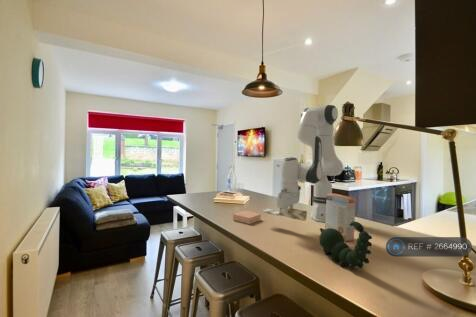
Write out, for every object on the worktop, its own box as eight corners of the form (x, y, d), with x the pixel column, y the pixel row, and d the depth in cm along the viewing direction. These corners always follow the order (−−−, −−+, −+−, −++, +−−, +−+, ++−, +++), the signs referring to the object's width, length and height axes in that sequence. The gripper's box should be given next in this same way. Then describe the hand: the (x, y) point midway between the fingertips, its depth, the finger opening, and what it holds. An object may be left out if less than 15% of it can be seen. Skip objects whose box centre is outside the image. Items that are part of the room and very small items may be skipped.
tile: (260, 214, 148) (244, 210, 155) (249, 218, 138) (233, 214, 145) (260, 220, 148) (244, 216, 155) (249, 224, 138) (232, 220, 145)
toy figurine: (373, 278, 86) (326, 245, 109) (380, 227, 84) (331, 204, 107) (352, 282, 83) (309, 247, 106) (359, 229, 80) (313, 205, 104)
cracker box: (354, 240, 118) (356, 198, 117) (344, 242, 115) (347, 198, 115) (333, 231, 131) (335, 192, 130) (324, 232, 128) (326, 193, 128)
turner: (307, 219, 127) (307, 210, 126) (302, 221, 122) (303, 212, 122) (267, 210, 141) (268, 202, 141) (262, 212, 136) (262, 204, 136)
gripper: (285, 190, 119) (284, 218, 120) (302, 186, 136) (301, 211, 136) (274, 189, 123) (273, 216, 124) (291, 185, 139) (290, 209, 140)
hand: (288, 213), depth 130 cm, fingers closed on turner, 3 cm apart
